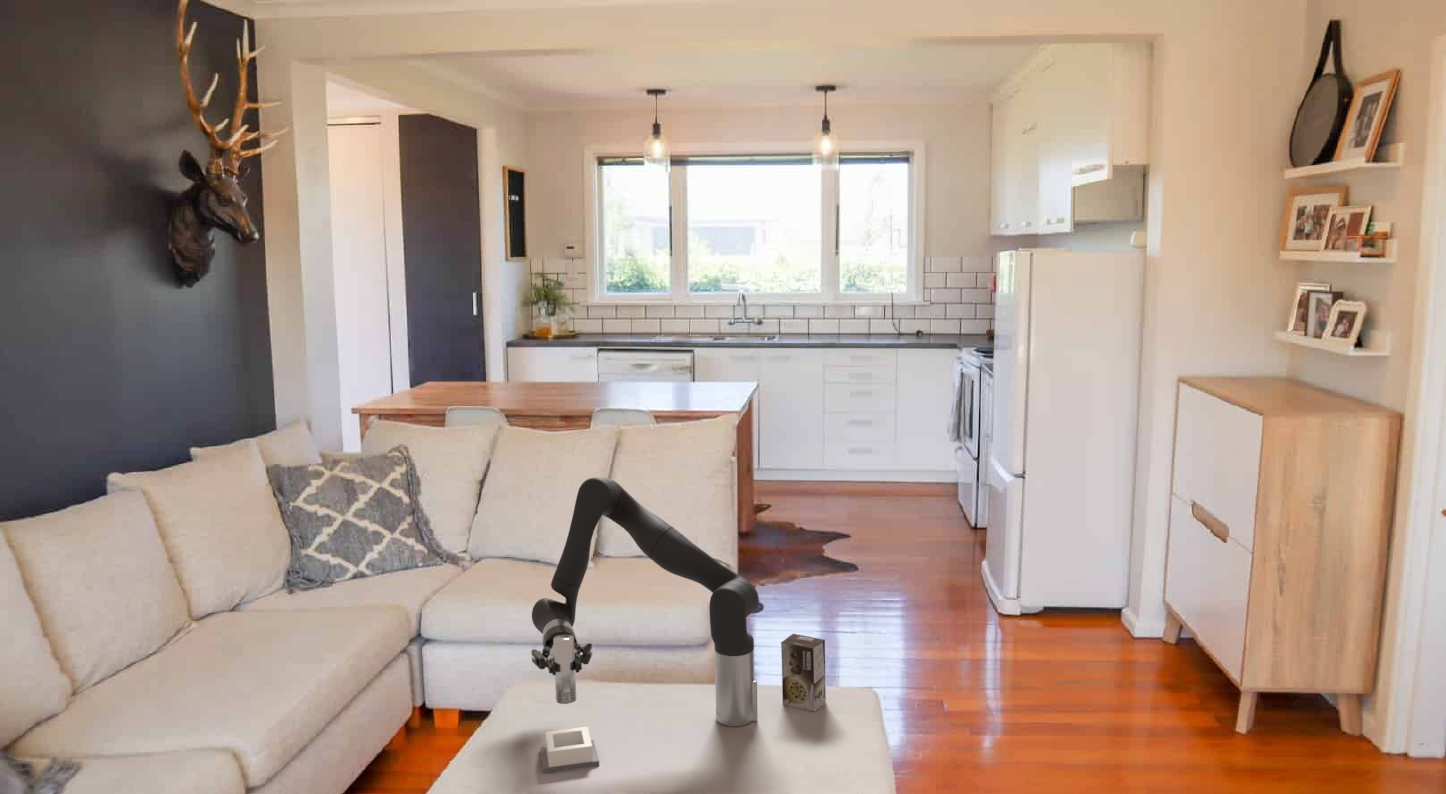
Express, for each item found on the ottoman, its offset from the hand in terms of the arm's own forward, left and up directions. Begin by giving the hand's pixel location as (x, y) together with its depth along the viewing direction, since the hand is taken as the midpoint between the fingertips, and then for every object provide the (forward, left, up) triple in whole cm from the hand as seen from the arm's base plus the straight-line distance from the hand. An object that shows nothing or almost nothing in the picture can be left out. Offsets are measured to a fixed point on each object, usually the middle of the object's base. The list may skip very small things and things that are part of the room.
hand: (565, 669), depth 219 cm
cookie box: (-58, -14, -22) cm, 64 cm away
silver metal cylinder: (0, -3, -8) cm, 8 cm away
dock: (0, -3, -22) cm, 22 cm away
